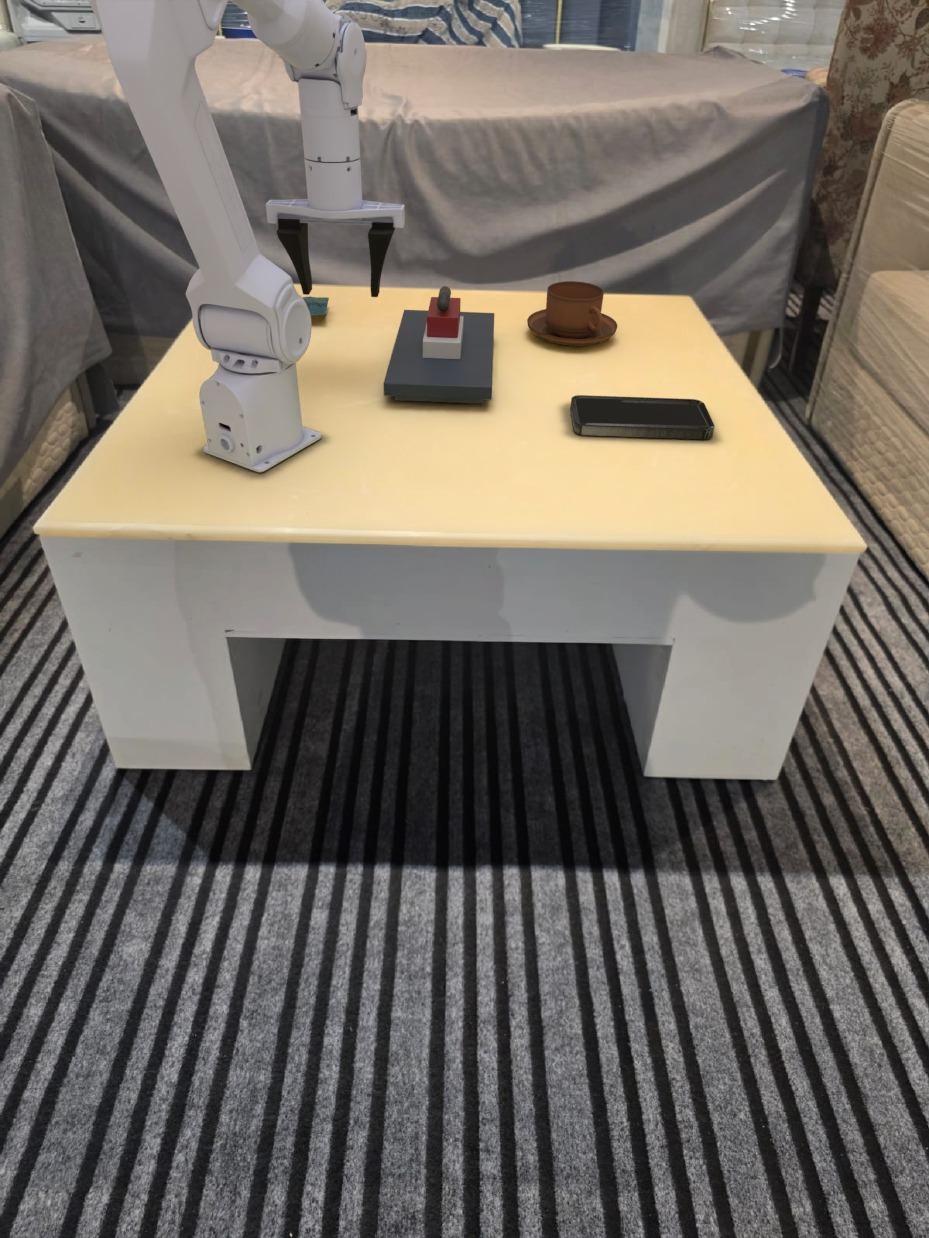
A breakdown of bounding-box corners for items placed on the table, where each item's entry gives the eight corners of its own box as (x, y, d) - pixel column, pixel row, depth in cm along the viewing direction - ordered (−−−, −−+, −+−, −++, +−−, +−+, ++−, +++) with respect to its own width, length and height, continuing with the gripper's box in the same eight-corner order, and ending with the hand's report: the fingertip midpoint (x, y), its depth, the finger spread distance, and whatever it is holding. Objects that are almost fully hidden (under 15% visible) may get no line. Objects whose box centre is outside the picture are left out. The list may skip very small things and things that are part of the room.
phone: (716, 430, 89) (575, 425, 89) (714, 440, 90) (574, 434, 90) (702, 399, 95) (570, 394, 95) (700, 408, 96) (569, 403, 96)
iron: (460, 359, 98) (461, 306, 94) (422, 358, 98) (422, 304, 94) (463, 332, 105) (464, 281, 101) (428, 330, 105) (428, 279, 101)
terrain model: (232, 327, 112) (230, 312, 111) (238, 310, 118) (236, 296, 117) (329, 325, 113) (328, 311, 112) (329, 309, 120) (328, 295, 118)
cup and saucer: (632, 336, 113) (639, 290, 109) (581, 361, 106) (587, 312, 102) (561, 315, 119) (565, 270, 115) (508, 336, 112) (510, 289, 108)
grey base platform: (490, 412, 94) (492, 387, 92) (384, 408, 94) (383, 383, 92) (493, 335, 112) (494, 312, 111) (404, 332, 113) (404, 309, 111)
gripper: (406, 152, 89) (408, 284, 97) (270, 148, 89) (284, 279, 97) (399, 166, 83) (403, 304, 92) (255, 161, 83) (271, 299, 92)
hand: (341, 293), depth 94 cm, fingers open, 7 cm apart
